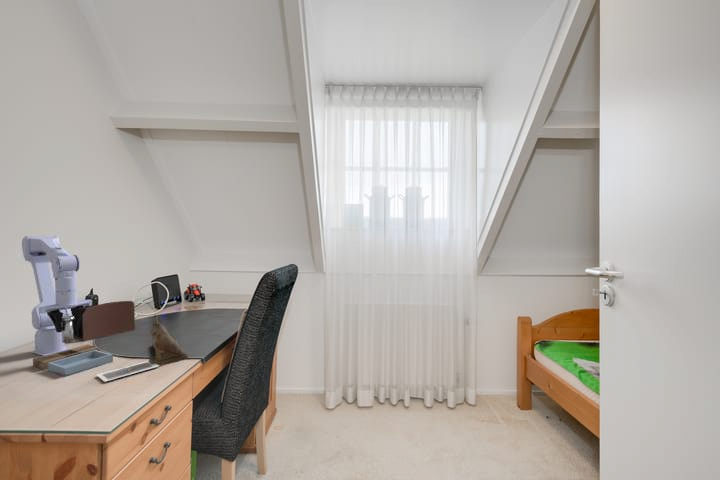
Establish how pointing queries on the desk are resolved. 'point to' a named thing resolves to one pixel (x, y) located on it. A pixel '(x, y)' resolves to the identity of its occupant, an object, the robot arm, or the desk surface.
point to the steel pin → (67, 329)
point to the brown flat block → (61, 355)
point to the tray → (79, 362)
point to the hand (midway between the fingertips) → (67, 330)
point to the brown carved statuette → (165, 346)
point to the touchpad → (126, 371)
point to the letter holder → (106, 320)
